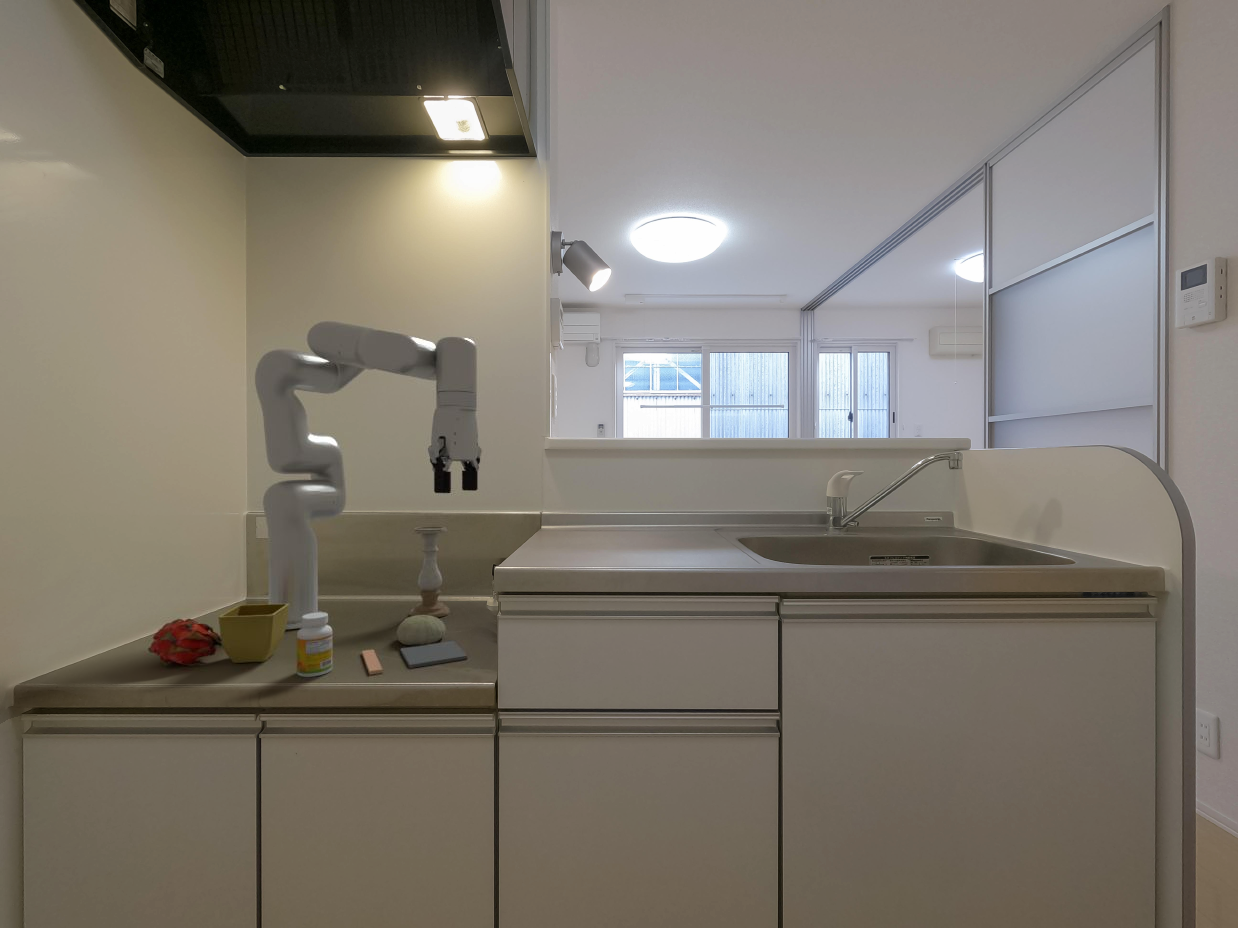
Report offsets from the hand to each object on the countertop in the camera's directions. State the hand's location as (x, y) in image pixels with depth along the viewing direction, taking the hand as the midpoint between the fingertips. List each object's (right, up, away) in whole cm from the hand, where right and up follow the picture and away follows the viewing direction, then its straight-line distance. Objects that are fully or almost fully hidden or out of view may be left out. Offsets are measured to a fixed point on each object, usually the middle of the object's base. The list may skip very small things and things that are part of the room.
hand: (456, 491), depth 113 cm
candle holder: (-13, -30, +25) cm, 41 cm away
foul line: (-13, -30, -9) cm, 34 cm away
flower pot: (-35, -30, -6) cm, 47 cm away
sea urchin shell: (-9, -31, +5) cm, 32 cm away
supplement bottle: (-21, -30, -13) cm, 39 cm away
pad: (-3, -30, -4) cm, 31 cm away
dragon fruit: (-46, -30, -9) cm, 55 cm away
